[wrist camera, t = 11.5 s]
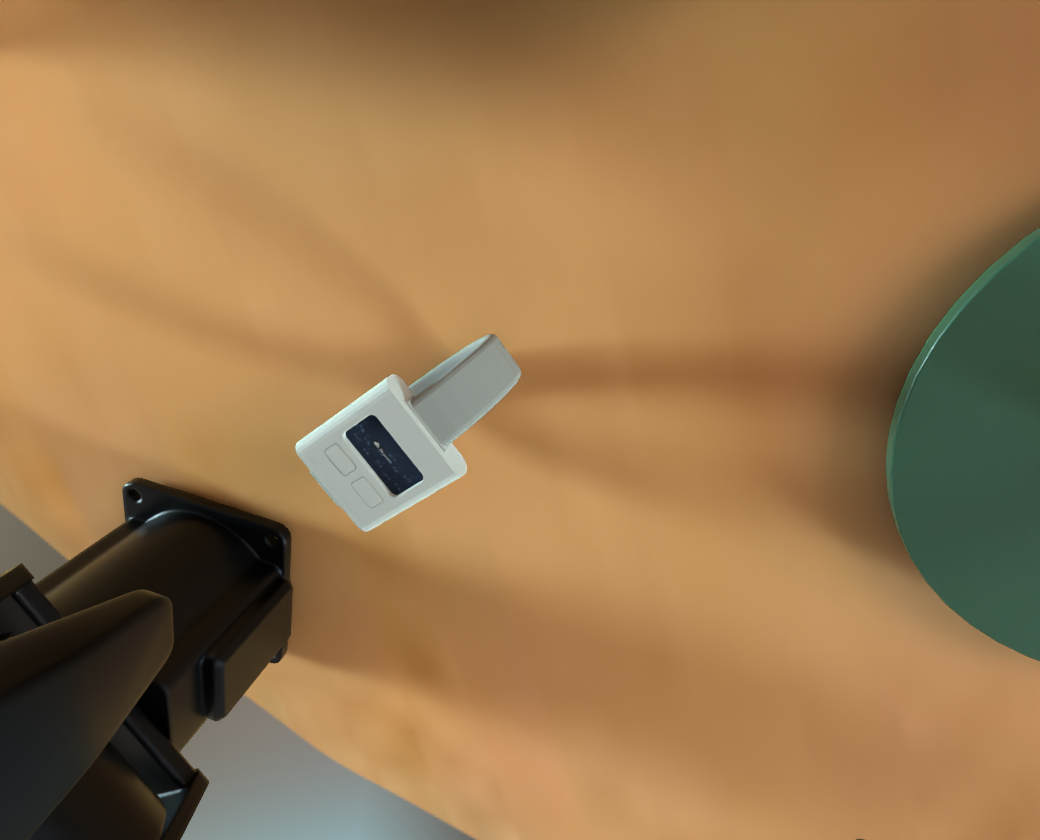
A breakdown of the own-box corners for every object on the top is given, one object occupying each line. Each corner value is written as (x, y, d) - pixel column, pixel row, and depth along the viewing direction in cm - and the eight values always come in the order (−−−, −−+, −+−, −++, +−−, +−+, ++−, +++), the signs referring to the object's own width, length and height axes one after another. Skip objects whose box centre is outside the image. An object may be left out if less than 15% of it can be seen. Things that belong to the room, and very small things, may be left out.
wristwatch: (402, 468, 21) (324, 560, 16) (348, 400, 20) (251, 476, 16) (557, 371, 18) (513, 449, 14) (499, 290, 18) (434, 343, 13)
